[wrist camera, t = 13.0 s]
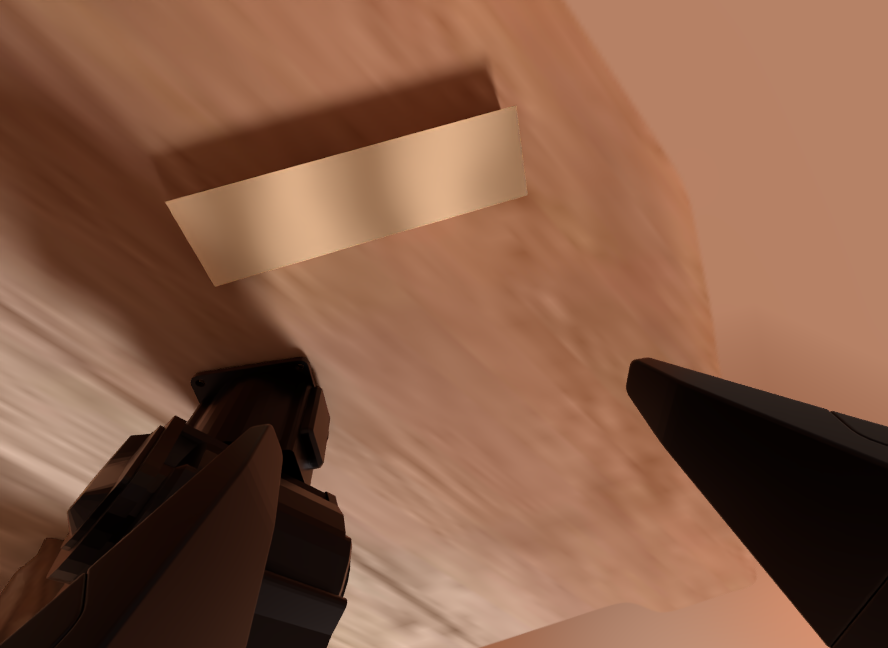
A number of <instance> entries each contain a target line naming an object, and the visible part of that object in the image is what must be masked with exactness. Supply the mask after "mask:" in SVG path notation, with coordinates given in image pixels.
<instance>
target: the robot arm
mask: <svg viewBox="0 0 888 648" xmlns="http://www.w3.org/2000/svg"><path fill="white" fill-rule="evenodd" d="M297 364H302V365H303V366H304V367H303V368H299V367H298V366H297ZM199 380H203V381H205V383H202V382H200V381H199ZM191 386H192V388H193V390H194V392H195V394H196V396H197V399H198V401H199V403H200V405H199V406H198V407H197V409H196V410H195V412H194V413H193V415H192V416H191V418H190V419H189V420H188V422H187V421H185V420H183V419H181V418H179V417H177V416H174V417H173V418H172V419H171V420H170V421H169V422H168V423H167V424H166V425H165V426H164V427H163V426H161V425H160V426H159V427H158V428H157V429H156V430H155V431H154V432H152V433H151V434H144V435H133V436H130V437H129V438H128V439H127V441H126V442H125V443H124V444H123V445H122V446H121V447H120V448H119V449H118V451H117V452H116V453H115V454H114V455H113V456H112V458H111V459H110V460H109V461H108V462H107V463H106V464H105V466H104V467H103V468H102V469H101V470H100V471H99V473H98V474H97V475H96V476H95V477H94V478H93V480H92V481H91V482H90V483H89V485H88V486H87V487H86V488H85V490H84V491H83V492H82V493H81V495H80V496H79V497H78V498H77V500H76V501H75V502H74V504H73V505H72V506H71V507H70V509H69V510H68V511H67V516H68V524H69V534H68V536H67V537H66V539H65V540H64V542H63V544H62V546H61V551H60V553H59V555H58V556H57V558H56V560H55V562H54V564H53V565H52V567H51V569H50V571H49V573H48V574H47V577H46V578H47V579H50V580H54V581H58V582H62V583H65V584H64V586H63V587H62V588H61V590H60V591H59V592H58V594H57V595H56V596H55V597H54V599H53V600H52V601H51V602H49V603H48V604H47V605H46V606H45V607H43V608H42V609H41V610H40V611H39V612H38V613H36V614H35V615H34V616H33V617H32V618H31V619H29V620H28V621H27V622H26V623H25V624H24V625H22V626H21V627H20V628H19V629H18V630H16V631H15V632H14V633H13V634H12V635H11V636H9V637H8V638H7V639H6V640H4V641H3V642H2V643H1V644H0V648H327V645H328V643H329V640H330V638H331V635H332V633H333V631H334V630H335V628H336V626H337V624H338V622H339V620H340V618H341V616H342V614H343V612H344V610H345V608H346V605H347V599H346V598H343V596H344V592H345V589H346V586H347V582H348V577H349V572H350V558H351V550H352V543H351V538H350V537H348V536H346V535H345V534H346V532H345V524H344V516H343V514H342V512H341V510H340V509H339V507H338V505H337V501H336V497H335V496H334V495H332V494H330V493H328V492H325V493H324V492H322V491H320V490H318V489H316V488H314V487H312V486H310V484H311V478H312V473H313V469H317V468H320V467H321V466H322V465H323V463H324V457H325V450H326V443H327V440H328V436H329V431H328V430H329V423H330V416H329V412H328V409H327V405H326V401H325V397H324V394H323V390H322V388H320V387H319V386H316V384H315V381H314V377H313V373H312V370H311V366H310V363H309V361H308V360H307V359H306V358H303V357H297V358H290V359H284V360H277V361H270V362H264V363H257V364H251V365H244V366H238V367H231V368H224V369H218V370H211V371H205V372H199V373H197V374H196V375H194V377H193V378H192V379H191ZM626 390H627V393H628V395H629V397H630V398H631V400H632V401H633V403H634V404H635V406H636V407H637V409H638V410H639V412H640V413H641V415H642V416H643V418H644V419H645V420H646V422H647V423H648V425H649V426H650V428H651V429H652V431H653V432H654V434H655V435H656V437H657V438H658V440H659V441H660V442H661V444H662V445H663V446H664V448H665V449H666V450H667V451H668V453H669V454H670V455H671V456H672V458H673V459H674V460H675V461H676V462H677V464H678V465H679V466H680V467H681V469H682V470H683V471H684V472H685V473H686V475H687V476H688V477H689V478H690V479H691V481H692V482H693V483H694V484H695V486H696V487H697V488H698V489H699V490H700V492H701V493H702V494H703V495H704V497H705V498H706V499H707V500H708V501H709V503H710V504H711V505H712V506H713V508H714V509H715V510H716V511H717V512H718V514H719V515H720V516H721V517H722V519H723V520H724V521H725V522H726V523H727V525H728V526H729V527H730V528H731V529H732V531H733V532H734V533H735V534H736V536H737V537H738V538H739V539H740V540H741V542H742V543H743V544H744V545H745V547H746V548H747V549H748V550H749V551H750V553H751V554H752V555H753V556H754V558H755V559H756V560H757V561H758V562H759V564H760V565H761V566H762V567H763V568H764V570H765V571H766V572H767V573H768V575H769V576H770V577H771V578H772V579H773V581H774V582H775V583H776V584H777V585H778V587H779V588H780V589H781V590H782V592H783V593H784V594H785V595H786V596H787V598H788V599H789V600H790V601H791V602H792V604H793V605H794V606H795V607H796V609H797V610H798V611H799V612H800V613H801V615H802V616H803V617H804V618H805V620H806V621H807V622H808V623H809V625H810V626H811V627H812V628H813V629H814V631H815V632H816V633H817V634H818V635H819V637H820V638H821V639H822V640H823V642H824V643H825V644H826V645H827V646H828V647H830V648H888V427H887V426H883V425H880V424H876V423H873V422H869V421H866V420H862V419H859V418H855V417H852V416H848V415H845V414H841V413H838V412H835V411H831V412H829V410H827V409H824V408H820V407H817V406H814V405H810V404H807V403H803V402H800V401H796V400H793V399H789V398H786V397H783V396H779V395H776V394H772V393H769V392H766V391H762V390H759V389H755V388H752V387H748V386H745V385H741V384H738V383H734V382H731V381H728V380H724V379H721V378H717V377H714V376H711V375H707V374H704V373H700V372H697V371H693V370H690V369H687V368H683V367H680V366H676V365H673V364H669V363H666V362H663V361H659V360H656V359H652V358H641V359H635V360H633V361H632V362H631V364H630V367H629V373H628V378H627V383H626ZM186 422H187V423H186Z"/></svg>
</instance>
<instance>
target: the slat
mask: <svg viewBox="0 0 888 648" xmlns="http://www.w3.org/2000/svg"><path fill="white" fill-rule="evenodd" d="M526 195H528V193H527V185H526V177H525V169H524V162H523V154H522V146H521V138H520V130H519V122H518V115H517V107H516V106H512V107H508V108H505V109H501V110H497V111H494V112H490V113H487V114H483V115H479V116H476V117H472V118H468V119H465V120H461V121H457V122H454V123H450V124H447V125H443V126H439V127H436V128H432V129H428V130H425V131H421V132H417V133H414V134H410V135H407V136H403V137H399V138H396V139H392V140H388V141H385V142H381V143H377V144H374V145H370V146H366V147H363V148H359V149H356V150H352V151H348V152H345V153H341V154H337V155H334V156H330V157H326V158H323V159H319V160H316V161H312V162H308V163H305V164H301V165H297V166H294V167H290V168H286V169H283V170H279V171H276V172H272V173H268V174H265V175H261V176H257V177H254V178H250V179H246V180H243V181H239V182H236V183H232V184H228V185H225V186H221V187H217V188H214V189H210V190H206V191H203V192H199V193H195V194H192V195H188V196H185V197H181V198H177V199H174V200H170V201H166V202H165V203H166V205H167V206H168V208H169V210H170V211H171V213H172V215H173V216H174V218H175V220H176V222H177V223H178V225H179V227H180V228H181V230H182V232H183V233H184V235H185V237H186V239H187V240H188V242H189V244H190V245H191V247H192V249H193V250H194V252H195V254H196V256H197V257H198V259H199V261H200V262H201V264H202V266H203V268H204V269H205V271H206V273H207V274H208V276H209V278H210V279H211V281H212V283H213V285H214V286H215V287H216V286H219V285H223V284H226V283H230V282H233V281H236V280H240V279H243V278H247V277H250V276H254V275H257V274H260V273H264V272H267V271H271V270H274V269H277V268H281V267H284V266H288V265H291V264H294V263H298V262H301V261H305V260H308V259H312V258H315V257H318V256H322V255H325V254H329V253H332V252H335V251H339V250H342V249H346V248H349V247H352V246H356V245H359V244H363V243H366V242H369V241H373V240H376V239H380V238H383V237H387V236H390V235H393V234H397V233H400V232H404V231H407V230H410V229H414V228H417V227H421V226H424V225H427V224H431V223H434V222H438V221H441V220H445V219H448V218H451V217H455V216H458V215H462V214H465V213H468V212H472V211H475V210H479V209H482V208H485V207H489V206H492V205H496V204H499V203H502V202H506V201H509V200H513V199H516V198H520V197H523V196H526Z"/></svg>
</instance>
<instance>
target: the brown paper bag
mask: <svg viewBox="0 0 888 648" xmlns="http://www.w3.org/2000/svg"><path fill="white" fill-rule="evenodd" d="M63 542H64V541H61V540H58V539H52V538H46V539H45V540H44V542H43V544H42V546H41V548H40V550H39V552H38V554H37V555H36V556H35V557H34V558H33V559H32V560H31V561H29V562H28V563H27V564H26V565H25V566H23V567H21V568H20V569H19V570H18V571H17V572H16V573H15V574H14V575H13V577H12V578H11V580H10V581H9V583H8V584H7V586H6V587H5V589H4V590H3V592H2V593H1V595H0V644H1V643H2V642H3V641H4V640H6V639H7V638H8V637H9V636H11V635H12V634H13V633H14V632H15V631H16V630H18V629H19V628H20V627H21V626H22V625H24V624H25V623H26V622H27V621H28V620H29V619H31V618H32V617H33V616H34V615H35V614H36V613H38V612H39V611H40V610H41V609H42V608H43V607H45V606H46V605H47V604H48V603H49V602H51V601H52V600H53V599H54V597H55V596H56V595H57V594H58V592H59V591H60V590H61V588H62V587H63V586H64V584H65V583H62V582H58V581H54V580H50V579H47V578H46V577H47V574H48V573H49V571H50V569H51V567H52V565H53V564H54V562H55V560H56V558H57V556H58V555H59V553H60V551H61V546H62V544H63Z"/></svg>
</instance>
